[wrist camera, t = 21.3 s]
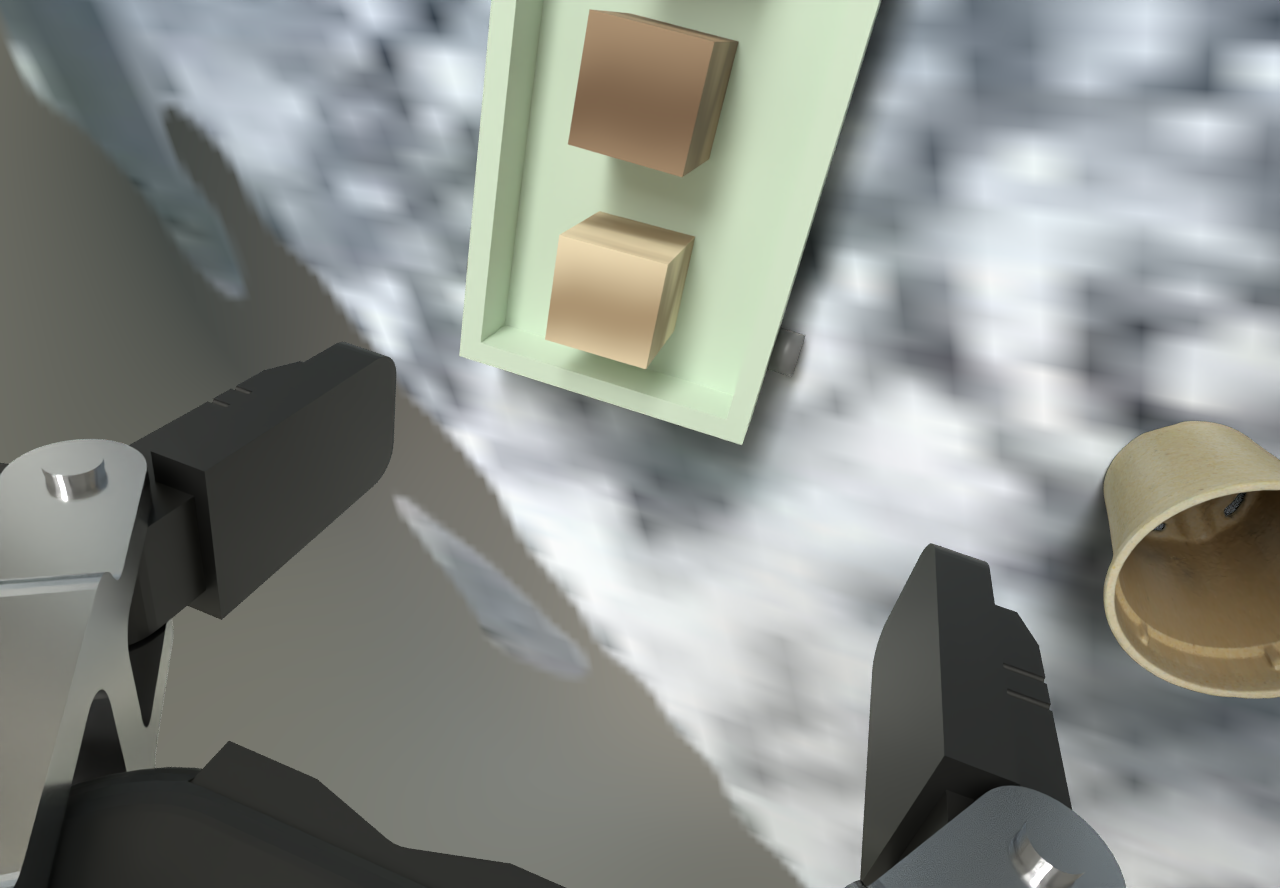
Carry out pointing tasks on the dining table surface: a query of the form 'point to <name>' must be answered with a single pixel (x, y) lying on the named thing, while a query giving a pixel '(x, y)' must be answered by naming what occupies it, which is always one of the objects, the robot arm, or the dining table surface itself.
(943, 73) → the dining table surface
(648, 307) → the beech part
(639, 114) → the walnut part
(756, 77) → the cart
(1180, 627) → the flower pot
